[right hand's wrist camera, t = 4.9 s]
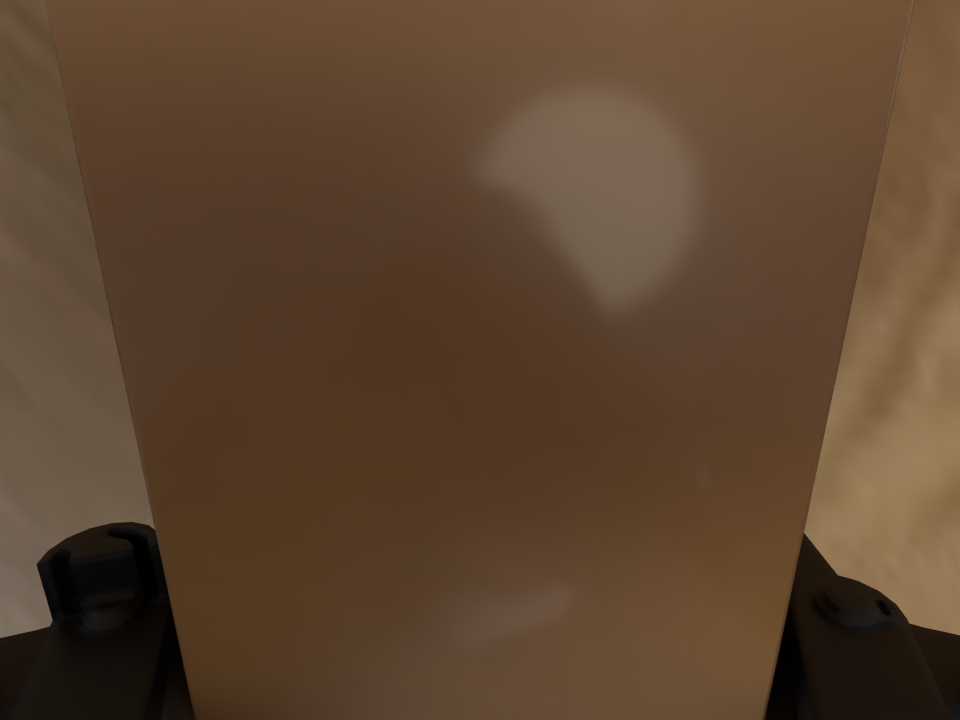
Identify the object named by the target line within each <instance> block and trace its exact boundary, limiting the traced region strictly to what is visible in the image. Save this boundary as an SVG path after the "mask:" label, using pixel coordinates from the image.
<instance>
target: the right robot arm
mask: <svg viewBox="0 0 960 720" xmlns="http://www.w3.org/2000/svg"><path fill="white" fill-rule="evenodd" d="M37 567H38V571H39V574H40V578H41V581H42V585H43V588H44V591H45V595H46V598H47V602H48V605H49V609H50V612H51V616H52V619H53V621H52V623H51V626H50V627H47V628H43V629H39V630H36V631H31V632H26V633H22V634H17V635H13V636H8V637H4V638H0V720H195V718H194V713H193V708H192V703H191V699H190V694H189V689H188V684H187V679H186V675H185V670H184V665H183V660H182V655H181V651H180V646H179V641H178V636H177V631H176V627H175V622H174V617H173V612H172V607H171V603H170V598H169V593H168V588H167V583H166V579H165V574H164V569H163V564H162V559H161V555H160V550H159V545H158V540H157V535H156V531H155V530H154V529H153V528H151V527H150V526H149V525H144V524H140V523H135V522H125V523H111V524H107V525H103V526H98V527H94V528H90V529H87V530H85V531H83V532H80V533H78V534H76V535H73V536H71V537H69V538H66V539H65V540H63V541H62V542H60V543H59V544H57V545H56V546H54V547H53V548H51V549H50V550H48V552H47V553H46V554H45V555H44V556H43V557H42V559H41V560H40V561H39V562H38V563H37ZM765 720H960V635H956V634H951V633H946V632H942V631H937V630H933V629H928V628H923V627H920V626H916V625H913V624H909V622H908V620H907V618H906V617H905V616H904V614H903V613H902V612H901V610H900V609H899V607H898V606H897V605H896V604H895V603H894V602H892V601H891V600H890V599H888V598H887V597H886V596H885V595H883V594H882V593H881V592H879V591H878V590H875V589H873V588H871V587H869V586H867V585H865V584H863V583H861V582H859V581H856V580H853V579H849V578H845V577H842V576H838V575H837V574H836V573H835V571H834V570H833V569H832V568H831V566H830V565H829V564H828V563H827V561H826V560H825V559H824V558H823V556H822V555H821V554H820V552H819V551H818V550H817V549H816V547H815V546H814V545H813V544H812V542H811V541H810V540H809V539H808V537H807V536H806V535H805V534H804V533H803V538H802V543H801V548H800V553H799V557H798V562H797V567H796V572H795V577H794V581H793V586H792V591H791V596H790V601H789V605H788V610H787V615H786V620H785V625H784V629H783V634H782V639H781V644H780V649H779V653H778V658H777V663H776V668H775V673H774V677H773V682H772V687H771V692H770V697H769V701H768V706H767V711H766V716H765Z"/></svg>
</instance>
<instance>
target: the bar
mask: <svg viewBox="0 0 960 720" xmlns="http://www.w3.org/2000/svg"><path fill="white" fill-rule="evenodd" d="M914 1H915V0H45V3H46V7H47V12H48V17H49V22H50V27H51V31H52V36H53V41H54V46H55V51H56V55H57V60H58V65H59V70H60V75H61V79H62V84H63V89H64V94H65V99H66V103H67V108H68V113H69V118H70V123H71V127H72V132H73V137H74V142H75V147H76V151H77V156H78V161H79V166H80V171H81V175H82V180H83V185H84V190H85V195H86V199H87V204H88V209H89V214H90V219H91V223H92V228H93V233H94V238H95V243H96V247H97V252H98V257H99V262H100V267H101V271H102V276H103V281H104V286H105V291H106V295H107V300H108V305H109V310H110V315H111V319H112V324H113V329H114V334H115V339H116V343H117V348H118V353H119V358H120V363H121V367H122V372H123V377H124V382H125V387H126V391H127V396H128V401H129V406H130V411H131V415H132V420H133V425H134V430H135V435H136V439H137V444H138V449H139V454H140V459H141V463H142V468H143V473H144V478H145V483H146V487H147V492H148V497H149V502H150V507H151V511H152V516H153V521H154V526H155V531H156V535H157V540H158V545H159V550H160V555H161V559H162V564H163V569H164V574H165V579H166V583H167V588H168V593H169V598H170V603H171V607H172V612H173V617H174V622H175V627H176V631H177V636H178V641H179V646H180V651H181V655H182V660H183V665H184V670H185V675H186V679H187V684H188V689H189V694H190V699H191V703H192V708H193V713H194V718H195V720H765V716H766V711H767V706H768V701H769V697H770V692H771V687H772V682H773V677H774V673H775V668H776V663H777V658H778V653H779V649H780V644H781V639H782V634H783V629H784V625H785V620H786V615H787V610H788V605H789V601H790V596H791V591H792V586H793V581H794V577H795V572H796V567H797V562H798V557H799V553H800V548H801V543H802V538H803V533H804V529H805V524H806V519H807V514H808V509H809V505H810V500H811V495H812V490H813V485H814V481H815V476H816V471H817V466H818V461H819V457H820V452H821V447H822V442H823V437H824V433H825V428H826V423H827V418H828V413H829V409H830V404H831V399H832V394H833V389H834V385H835V380H836V375H837V370H838V365H839V361H840V356H841V351H842V346H843V341H844V337H845V332H846V327H847V322H848V317H849V313H850V308H851V303H852V298H853V293H854V289H855V284H856V279H857V274H858V269H859V265H860V260H861V255H862V250H863V245H864V241H865V236H866V231H867V226H868V221H869V217H870V212H871V207H872V202H873V197H874V193H875V188H876V183H877V178H878V173H879V169H880V164H881V159H882V154H883V149H884V145H885V140H886V135H887V130H888V125H889V121H890V116H891V111H892V106H893V101H894V97H895V92H896V87H897V82H898V77H899V73H900V68H901V63H902V58H903V53H904V49H905V44H906V39H907V34H908V29H909V25H910V20H911V15H912V10H913V5H914Z"/></svg>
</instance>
